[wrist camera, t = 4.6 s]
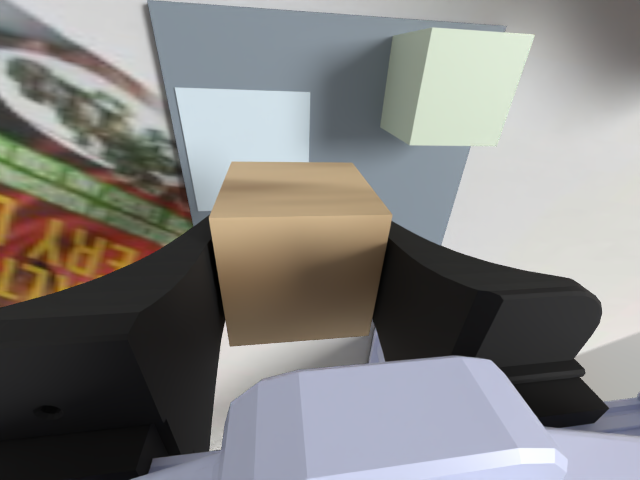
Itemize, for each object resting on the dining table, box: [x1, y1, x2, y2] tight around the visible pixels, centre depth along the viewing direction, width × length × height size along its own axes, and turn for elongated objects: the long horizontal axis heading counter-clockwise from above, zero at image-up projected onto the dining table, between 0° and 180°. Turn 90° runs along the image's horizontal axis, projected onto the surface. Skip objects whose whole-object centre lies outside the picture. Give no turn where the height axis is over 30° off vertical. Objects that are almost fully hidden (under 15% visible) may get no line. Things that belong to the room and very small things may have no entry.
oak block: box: [209, 162, 392, 346], centre depth 10 cm, size 4×4×4 cm
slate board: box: [147, 0, 507, 245], centre depth 19 cm, size 18×18×1 cm
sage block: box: [380, 27, 535, 146], centre depth 15 cm, size 4×4×4 cm
